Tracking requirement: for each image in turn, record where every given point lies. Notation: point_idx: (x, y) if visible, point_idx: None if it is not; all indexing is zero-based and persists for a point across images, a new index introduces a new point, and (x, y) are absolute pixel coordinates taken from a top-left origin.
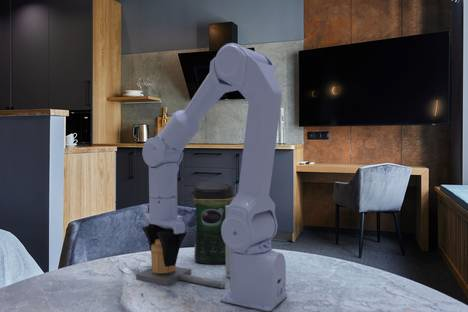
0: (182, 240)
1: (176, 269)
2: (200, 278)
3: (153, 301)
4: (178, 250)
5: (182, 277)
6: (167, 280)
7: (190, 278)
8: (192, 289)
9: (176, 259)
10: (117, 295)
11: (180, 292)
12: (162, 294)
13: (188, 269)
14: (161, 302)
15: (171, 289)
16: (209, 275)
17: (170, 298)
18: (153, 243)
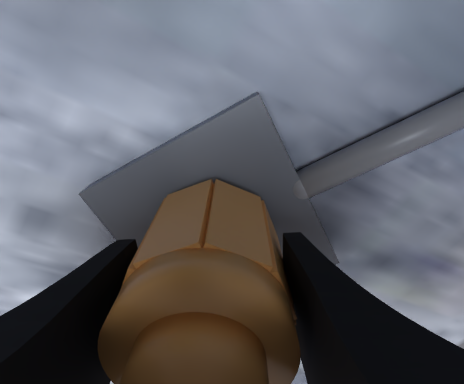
0: (454, 347)
1: (214, 168)
2: (444, 132)
3: (424, 327)
4: (355, 284)
5: (334, 186)
6: (336, 260)
7: (382, 164)
8: (444, 185)
9: (314, 246)
10: (300, 379)
11: (430, 236)
12: (395, 289)
13: (252, 110)
14: (452, 313)
15: (376, 250)
16: (345, 3)
17: (448, 283)
18: (99, 380)
